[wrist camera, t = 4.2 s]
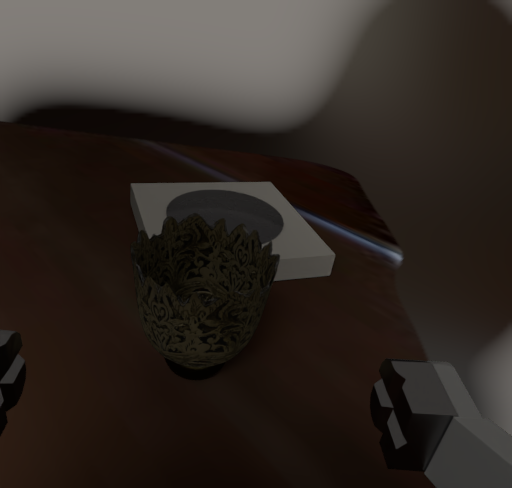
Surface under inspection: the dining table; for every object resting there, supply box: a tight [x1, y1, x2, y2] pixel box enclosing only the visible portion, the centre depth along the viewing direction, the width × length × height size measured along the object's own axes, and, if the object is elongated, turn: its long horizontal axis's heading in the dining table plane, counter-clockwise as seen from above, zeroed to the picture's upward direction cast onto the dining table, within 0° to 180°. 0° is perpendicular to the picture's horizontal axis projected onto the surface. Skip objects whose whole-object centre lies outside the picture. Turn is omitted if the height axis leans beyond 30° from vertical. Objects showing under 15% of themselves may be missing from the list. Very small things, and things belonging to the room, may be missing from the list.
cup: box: [131, 213, 280, 380], centre depth 25 cm, size 8×7×8 cm
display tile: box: [131, 182, 335, 281], centre depth 40 cm, size 14×14×2 cm
